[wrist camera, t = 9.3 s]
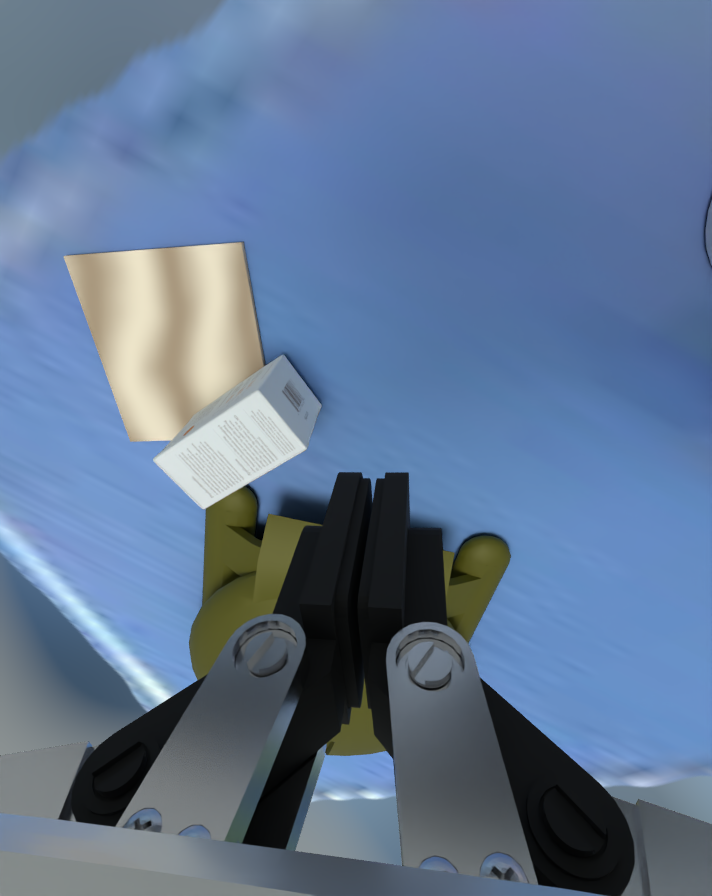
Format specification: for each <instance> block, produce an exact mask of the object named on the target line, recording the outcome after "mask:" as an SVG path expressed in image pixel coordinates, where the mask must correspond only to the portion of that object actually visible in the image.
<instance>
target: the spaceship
mask: <svg viewBox="0 0 712 896" xmlns="http://www.w3.org/2000/svg"><path fill="white" fill-rule="evenodd" d="M257 510H258V505H257V499H256V497H255V496H254V494H253V492H252V491H251V490H249V489H248V488H247V487H246V486H243V487H242V488H240V489H238V490H237V491H235V492H234V493H232V494H230V495H228V496H227V497H225V498H223V499H221V500H220V501H218V502H216V503H215V504H213V505H211V506H209V507H208V508H206V520H205V546H204V573H203V599H202V607H201V609H200V611H199V613H198V615H197V617H196V619H195V621H194V623H193V625H192V628H191V634H190V640H189V648H190V655H191V662H192V667H193V670H194V673H195V675H196V677H197V680H199V679H201V678H202V677H204V676H205V675H207V674H208V673H209V671H210V669H211V668H212V666H213V664H214V663H215V661H216V659H217V658H218V656H219V654H220V653H221V651H222V650H223V648H224V646H225V645H226V643H227V641H228V640H229V638H230V637H231V636H232V635H233V633H234V632H235V631H236V630H237V629H238V628H239V627H241V626H242V625H243V624H244V623H246V622H247V621H249V620H251V619H254V618H256V617H258V616H262V615H267V614H272V613H273V611H274V608H275V605H276V602H277V599H278V597H279V594H280V591H281V588H282V585H283V583H284V580H285V577H286V574H287V571H288V569H289V566H290V563H291V560H292V557H293V555H294V552H295V549H296V546H297V543H298V541H299V538H300V535H301V532H302V530H303V528H304V527H305V526H306V525H311V526H322V525H320V524H315V523H310V522H305V521H301V520H296V519H291V518H286V517H282V516H277V515H272V514H268V518H267V522H266V527H265V531H264V536H263V540H262V541H261V540H259V539H257V538H255V528H256V519H257ZM454 554H455V553H453V552H449V551H444V550H443V560H444V577H445V594H446V610H447V626H448V627H450V628H451V629H453V630H454V631H456V632H457V633H459V634H460V635H461V636H462V637H463V638H464V639H465V641H466V642H467V643H469V641H470V639H471V637H472V635H473V633H474V631H475V629H476V627H477V625H478V623H479V621H480V619H481V617H482V615H483V613H484V612H485V610H486V608H487V606H488V604H489V602H490V600H491V598H492V596H493V594H494V592H495V590H496V588H497V586H498V584H499V582H500V580H501V578H502V576H503V574H504V572H505V570H506V568H507V566H508V564H509V562H510V558H511V555H510V552H509V549H508V546H507V544H506V543H504V542H503V541H502V540H501V539H499V538H496V537H494V536H483V535H482V536H477V537H474V538H472V539H470V540H468V541H467V542H465V543H464V544H463V546H462V547H461V548H460V550H459V554H458V556H457V558H456V561H455V563H454V565H453V568H452V564H453V559H454ZM326 744H327V745H326V751H325V753H326V755H340V756H350V755H364V754H373V753H378V752H383V751H386V749H385V748H384V747H383V746H382V744H381V743H380V742H379V740H378V739H377V738H376V737H375V735H374V729H373V720H372V711H371V709H368V703H367V695H366V686H365V679H364V687H363V696H362V703H361V707H360V708H353V707H352V709H351V716H350V723H349V725H346V724H342V725H341V732H340V733H338V734H337V735H336V736H335V737H334V738H332V739H331V740H330V741H329V742H328V743H326Z"/></svg>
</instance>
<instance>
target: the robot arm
mask: <svg viewBox="0 0 712 896" xmlns="http://www.w3.org/2000/svg"><path fill="white" fill-rule="evenodd" d="M705 232H706V249H707V252H708V256H709V259H710V262H711V265H712V201H711V204H710V207H709V210H708V216H707V224H706V231H705ZM364 679H365V686H366V695H367V703H368V709H371V711H372V720H373V729H374V735H375V737H376V738H377V739H378V740H379V742H380V743H381V744H382V746H383V747H384V748H385V749H386V751H387V752H388V753H389V754H390V756H391V757H392V758H393V764H394V775H395V787H396V799H397V811H398V822H399V834H400V846H401V858H402V866H400V865H393V864H385V863H378V862H371V861H364V860H356V859H349V858H342V857H334V856H326V855H320V854H312V853H305V852H298V851H295V850H296V847H297V844H298V841H299V837H300V834H301V831H302V828H303V824H304V821H305V818H306V815H307V812H308V808H309V805H310V802H311V799H312V796H313V792H314V789H315V786H316V783H317V780H318V776H319V773H320V770H321V767H322V763H323V760H324V757H325V751H326V745H327V744H326V743H328V742H329V741H330V740H331V739H332V738H334V737H335V736H336V735H337V734H338V733H340V732H341V725H342V724H346V725H349V723H350V716H351V709H352V707H353V708H360V707H361V703H362V696H363V687H364ZM0 896H712V824H710V823H707V822H704V821H701V820H698V819H695V818H693V817H690V816H687V815H684V814H681V813H678V812H675V811H672V810H669V809H666V808H663V807H660V806H657V805H655V804H652V803H649V802H645V801H643V800H640V799H638V801H637V803H636V805H635V804H632V803H629V802H626V801H623V800H621V799H618V798H615V797H612V796H611V795H610V794H609V793H608V792H607V791H606V790H605V789H604V788H603V787H602V785H601V784H600V783H599V782H597V781H596V780H595V779H594V778H593V777H592V776H591V775H590V774H588V773H587V772H586V771H585V770H584V769H583V768H582V767H580V766H579V765H578V764H577V763H576V762H575V761H574V760H573V759H571V758H570V757H569V756H568V755H567V754H566V753H565V752H564V751H562V750H561V749H560V748H559V747H558V746H557V745H556V744H555V743H553V742H552V741H551V740H550V739H549V738H548V737H547V736H545V735H544V734H543V733H542V732H541V731H540V730H539V729H538V728H536V727H535V726H534V725H533V724H532V723H531V722H530V721H529V720H527V719H526V718H525V717H524V716H523V715H522V714H521V713H520V712H518V711H517V710H516V709H515V708H514V707H513V706H512V705H510V704H509V703H508V702H507V701H506V700H505V699H504V698H503V697H501V696H500V695H499V694H498V693H497V692H496V691H495V690H494V689H492V688H491V687H490V686H489V685H488V684H487V683H486V682H484V681H483V680H482V679H481V678H480V676H479V673H478V669H477V666H476V662H475V659H474V655H473V653H472V651H471V649H470V647H469V644H468V643H467V642H466V641H465V639H464V638H463V637H462V636H461V635H460V634H459V633H457V632H456V631H454V630H453V629H451V628H450V627H448V626H447V610H446V594H445V577H444V560H443V544H442V530H441V528H410V506H409V473H385V479H379V478H377V480H376V486H375V492H374V498H373V503H372V490H371V480H370V478H363V476H362V473H361V472H339V473H338V475H337V479H336V482H335V485H334V489H333V492H332V495H331V499H330V502H329V505H328V509H327V512H326V515H325V519H324V522H323V525H322V526H311V525H306V526H305V527H304V528H303V530H302V532H301V535H300V538H299V541H298V543H297V546H296V549H295V552H294V555H293V557H292V560H291V563H290V566H289V569H288V571H287V574H286V577H285V580H284V583H283V585H282V588H281V591H280V594H279V597H278V599H277V602H276V605H275V608H274V611H273V613H272V614H267V615H262V616H258V617H256V618H254V619H251V620H249V621H247V622H246V623H244V624H243V625H242V626H241V627H239V628H238V629H237V630H236V631H235V632H234V633H233V635H232V636H231V637H230V638H229V640H228V641H227V643H226V645H225V646H224V648H223V650H222V651H221V653H220V654H219V656H218V658H217V659H216V661H215V663H214V664H213V666H212V668H211V669H210V671H209V673H208V674H207V675H205V676H204V677H202V678H201V679H199V680H198V681H196V682H194V683H193V684H191V685H190V686H188V687H187V688H185V689H183V690H182V691H180V692H179V693H177V694H176V695H174V696H172V697H171V698H169V699H168V700H166V701H165V702H163V703H161V704H160V705H158V706H157V707H155V708H154V709H152V710H150V711H149V712H147V713H146V714H144V715H143V716H141V717H139V718H138V719H137V720H135V721H133V722H132V723H130V724H129V725H127V726H125V727H124V728H122V729H121V730H119V731H117V732H116V733H114V734H113V735H112V736H110V737H109V738H108V739H106V740H105V741H104V742H103V743H102V744H100V745H99V746H93V747H92V745H91V744H90V742H89V741H87V742H80V743H74V744H68V745H62V746H55V747H49V748H44V749H37V750H31V751H24V752H18V753H12V754H6V755H0Z"/></svg>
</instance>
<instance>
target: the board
mask: <svg viewBox="0 0 712 896" xmlns="http://www.w3.org/2000/svg"><path fill="white" fill-rule="evenodd" d="M64 259H65V262H66V264H67V267H68V270H69V273H70V275H71V278H72V281H73V284H74V286H75V289H76V292H77V295H78V298H79V300H80V303H81V306H82V309H83V311H84V314H85V317H86V320H87V322H88V325H89V328H90V331H91V334H92V336H93V339H94V342H95V345H96V347H97V350H98V353H99V356H100V358H101V361H102V364H103V367H104V370H105V372H106V375H107V378H108V381H109V383H110V386H111V389H112V392H113V394H114V397H115V400H116V403H117V406H118V408H119V411H120V414H121V417H122V419H123V422H124V425H125V428H126V430H127V433H128V436H129V439H130V442H131V441H166V440H172V439H173V438H174V437H175V436H176V435H177V434H178V433H179V432H180V431H181V430H182V429H183V428H184V426H185V425H186V424H187V423H188V422H189V421H190V419H191V418H192V417H193V415H194V414H196V413H197V412H199V411H200V410H202V409H203V408H205V407H206V406H208V405H209V404H210V403H212V402H213V401H215V400H216V399H218V398H219V397H221V396H222V395H223V394H225V393H226V392H228V391H229V390H231V389H232V388H233V387H235V386H236V385H238V384H239V383H241V382H242V381H244V380H245V379H247V378H248V377H250V376H251V375H252V374H254V373H255V372H257V371H258V370H260V369H261V368H263V367H264V366H265V360H264V355H263V349H262V343H261V338H260V332H259V326H258V321H257V315H256V310H255V304H254V298H253V293H252V287H251V281H250V276H249V270H248V265H247V259H246V253H245V248H244V242H236V243H223V244H210V245H197V246H184V247H171V248H158V249H145V250H132V251H119V252H107V253H94V254H81V255H68V256H64Z"/></svg>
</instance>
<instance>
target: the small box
mask: <svg viewBox="0 0 712 896" xmlns="http://www.w3.org/2000/svg"><path fill="white" fill-rule="evenodd" d="M321 407H322V405H321V404H320V402H319V401H318V400H317V398H316V397H315V396H314V394H313V393H312V392H311V390H310V389H309V388H308V386H307V385H306V384H305V382H304V381H303V380H302V378H301V377H300V376H299V374H298V373H297V372H296V370H295V369H294V368H293V366H292V365H291V364H290V362H289V361H288V360H287V358H286V357H285V355H281V356H279V357H278V358H276V359H275V360H273V361H272V362H270V363H269V364H267V365H266V366H264V367H263V368H261V369H260V370H258V371H257V372H255V373H254V374H252V375H251V376H250V377H248V378H247V379H245V380H244V381H242V382H241V383H239V384H238V385H236V386H235V387H233V388H232V389H231V390H229V391H228V392H226V393H225V394H223V395H222V396H221V397H219V398H218V399H216V400H215V401H213V402H212V403H210V404H209V405H208V406H206V407H205V408H203V409H202V410H200V411H199V412H197V413H196V414H194V415H193V417H192V418H191V419H190V421H189V422H188V423H187V424H186V425H185V426H184V428H183V429H182V430H181V431H180V432H179V433H178V434H177V435H176V436H175V437H174V438H173V439H172V441H171V442H170V443H169V444H168V445H167V446H166V447H165V448H164V449H163V450H162V451H161V452H160V453H159V454H158V455H157V456H155V457H154V459H153V461H154V462H155V463H156V464H157V465H158V466H159V467H160V468H161V469H162V470H163V471H164V472H165V473H166V474H167V475H168V476H169V477H170V478H171V479H172V480H173V481H174V482H175V483H176V484H177V485H178V486H179V487H180V488H181V489H182V490H183V491H184V492H185V493H186V494H187V495H188V496H189V497H190V498H191V499H192V500H193V501H194V502H195V503H197V504H198V505H199V506H200V507H201V508H202V509H206V508H208V507H209V506H211V505H213V504H215V503H216V502H218V501H220V500H221V499H223V498H225V497H227V496H228V495H230V494H232V493H234V492H235V491H237V490H238V489H240V488H242V487H243V486H245V485H247V484H248V483H250V482H252V481H254V480H255V479H257V478H259V477H261V476H262V475H264V474H266V473H267V472H269V471H271V470H273V469H274V468H276V467H278V466H279V465H281V464H283V463H284V462H286V461H288V460H289V459H291V458H293V457H295V456H296V455H298V454H300V453H302V452H303V451H305V450H306V449H307V448H308V445H309V440H310V437H311V434H312V431H313V428H314V425H315V422H316V419H317V416H318V414H319V412H320V409H321Z"/></svg>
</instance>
